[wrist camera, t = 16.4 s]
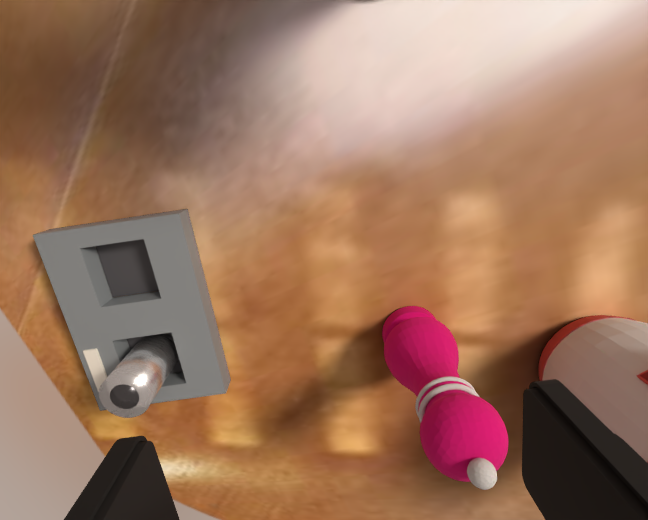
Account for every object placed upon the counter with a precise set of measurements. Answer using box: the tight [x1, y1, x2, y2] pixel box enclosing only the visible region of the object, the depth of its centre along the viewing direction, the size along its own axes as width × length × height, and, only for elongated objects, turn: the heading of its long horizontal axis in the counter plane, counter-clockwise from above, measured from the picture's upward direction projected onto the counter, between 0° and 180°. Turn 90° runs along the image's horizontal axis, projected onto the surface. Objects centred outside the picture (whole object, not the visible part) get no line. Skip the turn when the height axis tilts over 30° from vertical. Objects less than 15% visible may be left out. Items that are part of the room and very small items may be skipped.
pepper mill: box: [382, 306, 508, 490], centre depth 33 cm, size 7×7×20 cm
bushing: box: [99, 333, 179, 418], centre depth 38 cm, size 5×5×8 cm
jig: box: [33, 209, 231, 411], centre depth 40 cm, size 20×14×3 cm
